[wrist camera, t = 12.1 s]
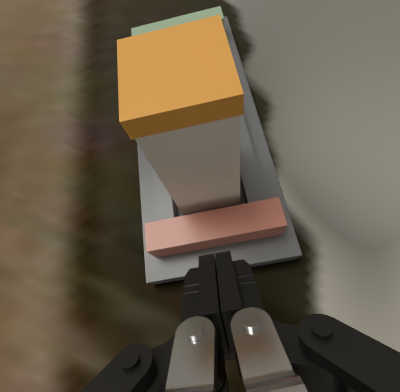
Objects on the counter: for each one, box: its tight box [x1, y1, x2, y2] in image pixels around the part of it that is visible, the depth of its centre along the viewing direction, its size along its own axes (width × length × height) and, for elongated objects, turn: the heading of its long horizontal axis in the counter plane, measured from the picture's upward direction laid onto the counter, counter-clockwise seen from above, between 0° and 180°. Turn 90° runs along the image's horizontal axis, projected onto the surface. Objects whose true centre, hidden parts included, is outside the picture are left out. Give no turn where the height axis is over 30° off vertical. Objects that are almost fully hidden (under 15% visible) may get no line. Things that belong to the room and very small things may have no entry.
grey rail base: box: [131, 6, 302, 285], centre depth 21 cm, size 24×10×4 cm, turn 8°
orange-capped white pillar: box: [117, 14, 244, 215], centre depth 14 cm, size 4×4×10 cm
